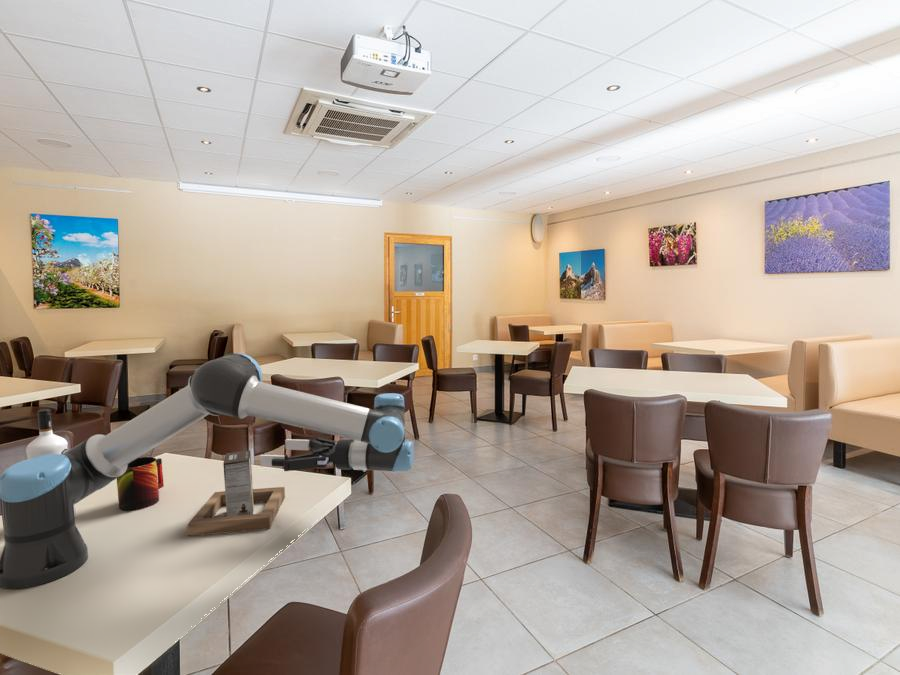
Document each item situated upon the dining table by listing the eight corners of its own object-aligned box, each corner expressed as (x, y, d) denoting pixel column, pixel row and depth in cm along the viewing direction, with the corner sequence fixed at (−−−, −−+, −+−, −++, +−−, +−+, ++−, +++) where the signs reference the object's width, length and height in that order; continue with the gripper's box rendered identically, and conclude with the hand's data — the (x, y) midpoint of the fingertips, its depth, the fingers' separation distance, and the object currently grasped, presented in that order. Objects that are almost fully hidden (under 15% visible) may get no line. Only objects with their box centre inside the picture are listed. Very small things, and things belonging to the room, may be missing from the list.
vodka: (49, 515, 133) (39, 406, 130) (84, 513, 133) (75, 405, 131) (21, 531, 123) (10, 414, 121) (59, 529, 124) (48, 413, 122)
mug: (164, 489, 149) (161, 451, 148) (155, 507, 136) (152, 465, 135) (127, 495, 146) (124, 455, 145) (115, 513, 133) (111, 470, 132)
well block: (269, 528, 122) (269, 517, 121) (188, 535, 119) (187, 523, 119) (285, 496, 141) (284, 486, 141) (215, 502, 139) (215, 492, 138)
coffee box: (228, 510, 133) (225, 452, 132) (254, 506, 135) (250, 449, 134) (226, 524, 124) (222, 463, 123) (253, 519, 127) (250, 459, 126)
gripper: (336, 487, 113) (249, 483, 115) (367, 453, 138) (295, 451, 140) (335, 455, 112) (248, 452, 115) (366, 427, 137) (294, 425, 140)
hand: (274, 452), depth 128 cm, fingers open, 13 cm apart
